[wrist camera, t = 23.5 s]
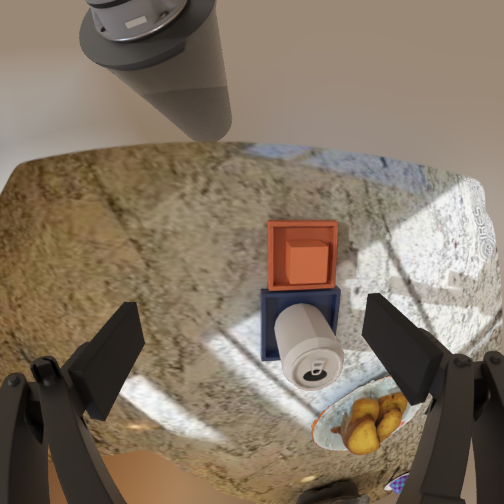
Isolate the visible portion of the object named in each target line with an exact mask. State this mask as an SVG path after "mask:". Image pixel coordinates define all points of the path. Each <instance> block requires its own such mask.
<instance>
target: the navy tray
mask: <svg viewBox="0 0 504 504" xmlns="http://www.w3.org/2000/svg"><path fill="white" fill-rule="evenodd" d="M340 293H341V290H340V289H339V288H338V287H337V286H335V287H334V288H321V289H301V290H277V291H269V289H261V360H262V361H276V360H281V359H280V354H279V349H278V345H277V340H276V335H275V329H274V327H275V322H276V319H277V318H278V316H279V314H280V313H281V312H282V311H284V310H285V309H286V308H288V307H290V306H292V305H295V304H300V303H303V304H310V305H312V306H315V307H316V308H317V309H318V310H320V311H321V313H322V314H323V316H324V318H325V320H326V321H327V323H328V325H329V326H330V328H331V330H332V331H333V333H334V335H335V336H336V329H337V321H338V312H339V303H340Z"/></svg>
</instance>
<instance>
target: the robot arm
mask: <svg viewBox="0 0 504 504" xmlns="http://www.w3.org/2000/svg"><path fill="white" fill-rule="evenodd" d="M85 1H86V2H87V3H88V4H89V5H90V7H91V11H92V16H93V20H94V24H95V27H96V30H97V31H98V33H99V34H100V35H101V36H102V37H103V38H105V39H106V40H107V41H109V42H112V43H117V44H129V43H135V42H139V41H142V40H145V39H148V38H151V37H153V36H155V35H157V34H159V33H161V32H162V31H164V30H165V29H167V28H168V27H170V26H171V25H172V24H173V23H175V22H176V21H177V20H178V19H179V18H180V17H181V16H182V14H183V13H184V12H185V10H186V9H187V7H188V4H189V1H190V0H85ZM362 336H363V338H364V339H365V340H366V342H367V343H368V344H369V346H370V347H371V349H372V350H373V351H374V353H375V354H376V356H377V357H378V359H379V360H380V361H381V363H382V364H383V366H384V367H385V369H386V370H387V371H388V373H389V374H390V376H391V377H392V379H393V380H394V382H395V383H396V384H397V386H398V387H399V389H400V390H401V392H402V393H403V395H404V396H405V398H406V399H407V401H408V402H409V404H410V405H411V406H414V405H417V404H420V403H423V402H425V400H426V398H427V395H428V393H430V394H431V395H432V397H433V398H432V400H431V402H430V404H429V406H428V408H427V410H426V412H425V414H426V415H427V418H426V422H425V426H424V429H423V433H422V436H421V440H420V443H419V446H418V449H417V452H416V455H415V458H414V461H413V464H412V466H411V469H410V472H409V474H408V477H407V479H406V482H405V484H404V487H403V489H402V491H401V493H400V496H399V498H398V500H397V503H396V504H466V503H465V500H464V499H461V498H460V494H461V490H462V486H463V482H464V477H465V472H466V467H467V461H468V456H469V449H470V441H471V437H472V443H473V451H474V459H475V471H476V488H477V504H504V356H503V355H502V354H501V353H499V352H497V351H489V352H487V353H486V354H485V356H484V358H483V361H477V362H473V361H472V360H471V358H470V357H468V356H466V355H463V354H452V353H451V352H450V351H449V350H448V349H447V348H446V347H445V346H443V345H442V344H441V343H440V342H439V341H438V340H437V339H436V338H434V336H433V335H432V334H431V333H429V332H428V331H426V330H424V329H422V328H417V327H416V326H415V325H414V324H413V323H412V322H411V321H410V320H409V319H408V318H407V317H405V316H404V315H403V314H402V313H401V312H400V311H399V310H398V309H397V308H396V307H395V306H393V305H392V304H391V303H390V302H389V301H388V300H387V299H386V298H385V297H383V296H382V295H381V294H380V293H372V294H368V297H367V304H366V311H365V317H364V324H363V330H362ZM144 344H145V341H144V337H143V332H142V328H141V323H140V318H139V314H138V308H137V303H136V302H124V303H123V304H122V305H121V306H120V308H119V309H118V310H117V311H116V312H115V313H114V314H113V316H112V317H111V318H110V319H109V320H108V321H107V323H106V324H105V325H104V326H103V327H102V328H101V330H100V331H99V332H98V333H97V334H96V335H95V337H94V338H93V339H92V340H91V341H90V342H85V343H84V344H82V345H81V346H79V347H78V348H77V349H76V351H75V352H74V354H72V355H71V357H70V358H69V359H68V360H67V361H66V363H65V364H64V365H63V366H62V367H61V369H60V368H59V365H58V363H57V361H56V359H55V358H54V357H52V356H43V357H40V358H37V359H36V360H35V361H33V363H32V364H31V366H30V369H31V371H32V373H33V376H34V378H35V380H36V382H27V380H26V378H25V376H24V374H22V373H17V372H16V373H12V374H9V375H8V376H7V377H6V378H5V379H4V381H3V384H2V386H1V389H0V504H50V498H49V486H48V444H49V448H50V452H51V455H52V459H53V462H54V465H55V468H56V472H57V475H58V478H59V481H60V484H61V487H62V490H63V492H64V495H65V497H66V500H67V502H68V504H127V503H126V501H125V500H124V498H123V497H122V495H121V493H120V492H119V490H118V488H117V486H116V485H115V483H114V481H113V479H112V477H111V475H110V474H109V472H108V470H107V468H106V466H105V464H104V462H103V460H102V458H101V456H100V453H99V451H98V449H97V447H96V445H95V443H94V440H93V438H92V436H91V433H90V431H89V428H88V426H87V423H86V421H85V419H84V417H83V413H84V411H85V410H86V411H87V412H88V414H89V416H90V418H92V419H96V420H101V421H105V420H106V418H107V416H108V414H109V412H110V410H111V408H112V406H113V404H114V402H115V400H116V398H117V396H118V394H119V392H120V390H121V388H122V386H123V384H124V382H125V380H126V378H127V376H128V375H129V373H130V371H131V369H132V367H133V365H134V363H135V361H136V359H137V357H138V356H139V354H140V352H141V350H142V348H143V346H144ZM427 413H428V414H427Z"/></svg>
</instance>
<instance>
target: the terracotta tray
mask: <svg viewBox="0 0 504 504" xmlns="http://www.w3.org/2000/svg"><path fill="white" fill-rule="evenodd" d="M309 239H319V240H320V241H321V242H323V243H324V244H325V245H327V246H328V263H327V279H326V283H305V284H290V282H289V280H288V278H287V276H286V273H285V240H309ZM337 241H338V222H337V221H335V220H268V289H269V291H277V290H301V289H321V288H334V287H335V274H336V260H337Z"/></svg>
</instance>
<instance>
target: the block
mask: <svg viewBox="0 0 504 504" xmlns="http://www.w3.org/2000/svg"><path fill="white" fill-rule="evenodd" d="M327 263H328V246H327V245H325V244H324V243H323V242H321V241H320V240H319V239H309V240H285V273H286V276H287V278H288V280H289V282H290V284H305V283H326V279H327Z"/></svg>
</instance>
